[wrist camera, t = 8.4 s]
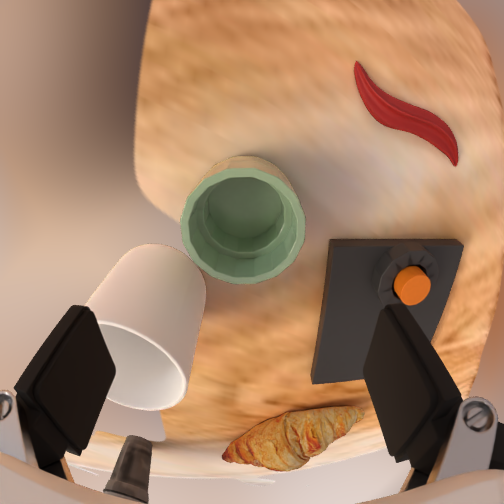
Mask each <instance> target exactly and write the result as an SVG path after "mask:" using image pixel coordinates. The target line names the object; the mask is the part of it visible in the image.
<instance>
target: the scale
mask: <svg viewBox="0 0 504 504" xmlns="http://www.w3.org/2000/svg"><path fill="white" fill-rule="evenodd" d="M463 248H464V245H463V244H461V243H460V242H459V241H458V240H456V239H330V241H329V251H328V260H327V269H326V277H325V285H324V293H323V301H322V308H321V315H320V322H319V328H318V335H317V341H316V347H315V353H314V359H313V364H312V370H311V381H312V384H324V383H335V382H344V381H352V380H360V379H364V376H363V366H364V363H365V360H366V357H367V354H368V351H369V347H370V344H371V341H372V337H373V334H374V331H375V327H376V323H377V320H378V316H379V313H380V310H381V309H384V308H385V306H386V305H387V304H395V303H403V302H402V300H401V299H400V297H399V296H398V295H397V293H396V292H395V290H394V280H395V278H396V276H397V275H398V273H399V272H400V271H401V270H402V269H404V268H406V267H408V266H417V267H419V268H420V269H421V270H422V271H423V272H424V273H425V274H426V276H427V277H428V278H429V279H430V283H431V287H430V291H429V293H428V295H427V296H426V297H425V299H424V300H422V301H421V302H420V303H418V304H415V305H406V304H405V305H406V307H407V308H408V310H409V311H410V313H411V314H412V315H413V317H414V318H415V320H416V321H417V323H418V324H419V326H420V327H421V329H422V330H423V332H424V334H425V335H426V337H427V338H428V340H429V341H430V342H431V340H432V337H433V335H434V333H435V330H436V328H437V325H438V323H439V321H440V318H441V315H442V313H443V310H444V308H445V305H446V302H447V299H448V297H449V294H450V291H451V288H452V285H453V282H454V279H455V276H456V272H457V269H458V266H459V262H460V259H461V255H462V252H463Z"/></svg>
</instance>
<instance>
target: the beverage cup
mask: <svg viewBox="0 0 504 504" xmlns="http://www.w3.org/2000/svg"><path fill="white" fill-rule="evenodd" d="M151 456H152V444H151V442H149V441H148V440H146V439H144V438H142V437H138V436H133V435H130V436H127V439H126V441H125V443H124V445H123V447H122V450H121V452H120V455H119V457H118V460H117V462H116V465H115V467H114V470H113V473H112V475H111V478H110V480H109V481H108V483H107V485H106V487H105V489H104V490H103V492H104V493H106V494H109V495H113V496H116V497H120V498H124V499H128V500H132V501H136V502H141V503H145V504H148V501H149V500H148V499H149V498H148V483H149V474H150V464H151Z"/></svg>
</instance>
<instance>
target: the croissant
mask: <svg viewBox="0 0 504 504" xmlns="http://www.w3.org/2000/svg"><path fill="white" fill-rule="evenodd" d="M363 416H364V412H363V410H362V408H360V407H356V406H343V407H327V408H326V407H325V408H321V409H310V410H306V411H297V412H291V413H288V412H286V413H284V414H282V415H281V416H280V417H276V418H272V419H269V420H267V421H265V422H263V423H261V424H258V425H256V426H255V427H254V428H252V429H251V430H250V431H249V432H247V433H245V434H244V435H243V436H241V437H240V438H238V439H236V440H235V441H233V442H232V443H230V445H229V446H228V447H227V449H226V451H225V452H224V453H223V455H222V459H223V460H225V461H226V462H230V463H232V462H236V463H239V464H252V465H254V466H258V467H266V468H267V469H270V470H274V471H290V470H295V469H298V468H300V467H302V466H303V465H304V464H306V463H307V462H308V461H309V459H310V457H314V456H316V455H319V454H320V453H322V452H323V451H325V450H326V448H327V447H328V445H329V444H330V443H333V441H334V440H336V439H339V438H341V437H342V436H344V435H346V433H347V432H349V430H350V429H351V427H352V425H353V424H354V423H357V422H359V421H360V420H362V419H363Z"/></svg>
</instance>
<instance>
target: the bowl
mask: <svg viewBox="0 0 504 504" xmlns="http://www.w3.org/2000/svg"><path fill="white" fill-rule="evenodd" d="M180 224H181V233H182V241H183V244H184V246H185V248H186V249H187V251H188V253H189V255H190V257H191V258H192V260H193V262H194V263H195V264H196V265H198V266H199V267H200V268H201V269H202V270H204V271H205V272H206V273H207V274H209V275H210V276H212V277H214V278H217V279H219V280H222V281H225V282H228V283H231V284H257V283H260V282H262V281H265V280H268V279H271V278H273V277H276V276H278V275H279V274H280V273H281V272H282V271H284V270H285V269H286V268H287V267H288V266H289V265H291V264H292V263H293V262H294V261H295V259H296V257H297V255H298V253H299V251H300V249H301V247H302V245H303V243H304V240H305V226H306V217H305V214H304V212H303V209H302V206H301V204H300V201H299V199H298V196H297V194H296V193H295V191H294V189H293V187H292V185H291V183H290V182H289V180H288V178H287V177H286V176H285V175H284V174H283V173H282V172H281V171H280V170H279V169H278V168H277V167H276V166H275V165H274V164H273V163H271V162H268V161H266V160H263V159H261V158H258V157H256V156H234V157H231V158H228V159H226V160H224V161H222V162H220V163H217V164H215V165H214V166H213V167H212V168H211V169H210V170H209V172H208V173H207V174H206V175H205V176H204V177H203V178H202V179H201V181H200V182H199V183H198V184H197V186H196V187H195V188H194V190H193V191H192V192H191V193H190V195H189V196H188V198H187V200H186V203H185V206H184V209H183V212H182V215H181V219H180Z"/></svg>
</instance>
